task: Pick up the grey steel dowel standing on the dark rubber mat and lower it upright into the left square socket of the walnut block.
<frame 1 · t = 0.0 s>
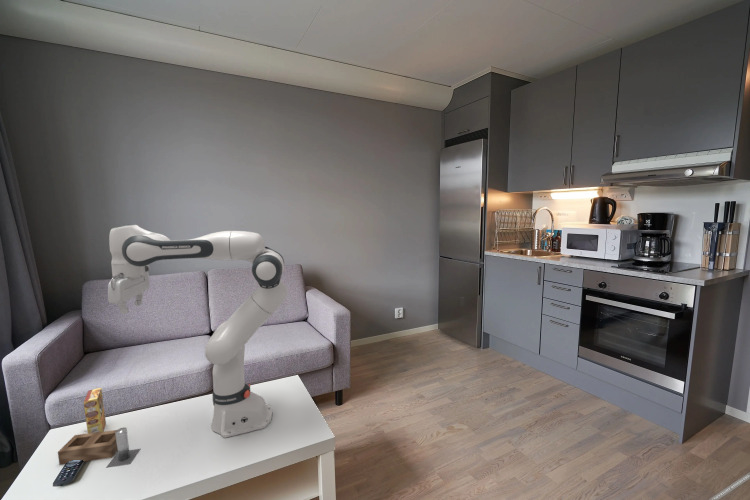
hand: (131, 308, 115), 48 cm above the table, fingers open, 8 cm apart
mat: (124, 458, 108), on the table
candy box: (97, 432, 121), on the table
peg: (124, 457, 108), resting on mat
socket block: (94, 453, 111), on the table
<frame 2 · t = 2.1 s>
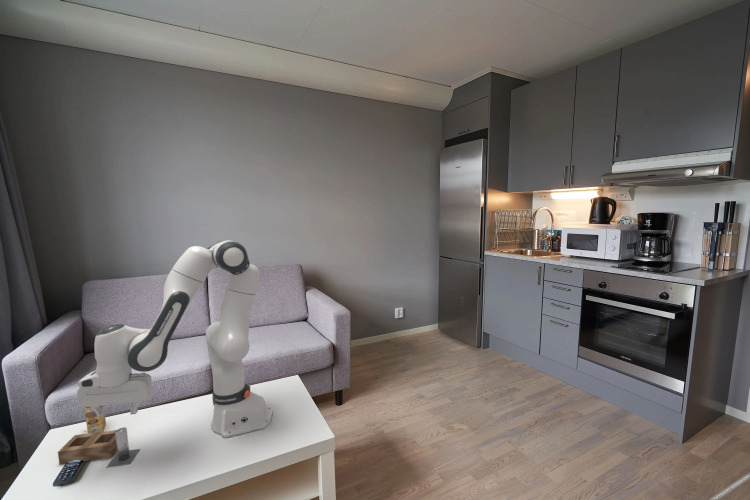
hand: (118, 415, 106), 16 cm above the table, fingers open, 8 cm apart
nothing on the table moved.
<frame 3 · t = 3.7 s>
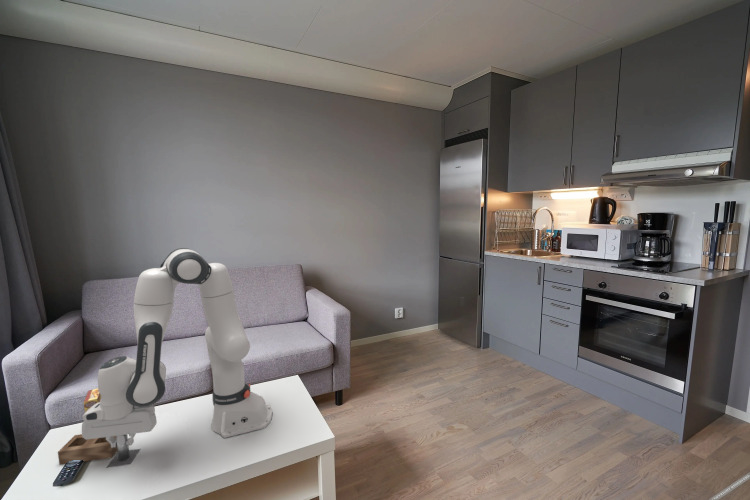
hand: (122, 445, 107), 5 cm above the table, fingers closed on peg, 3 cm apart
peg: (124, 457, 108), resting on mat, touching gripper
everything else where it was.
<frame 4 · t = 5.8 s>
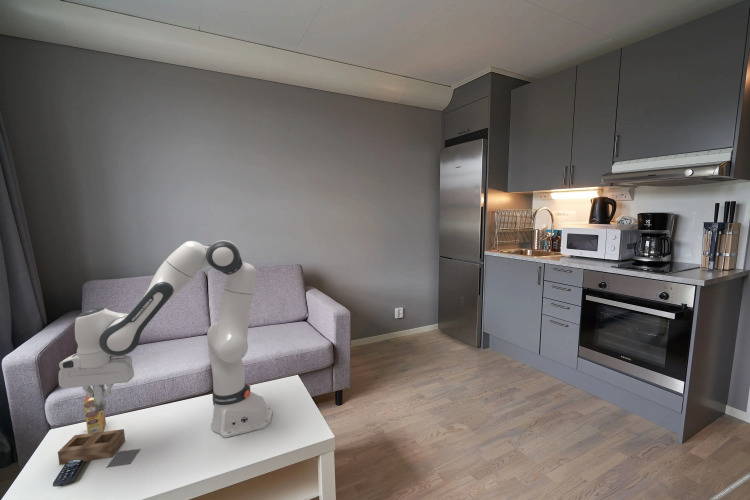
hand: (99, 396, 109), 21 cm above the table, fingers closed on peg, 3 cm apart
peg: (101, 408, 109), point 16 cm above the table, touching gripper
everything else where it was.
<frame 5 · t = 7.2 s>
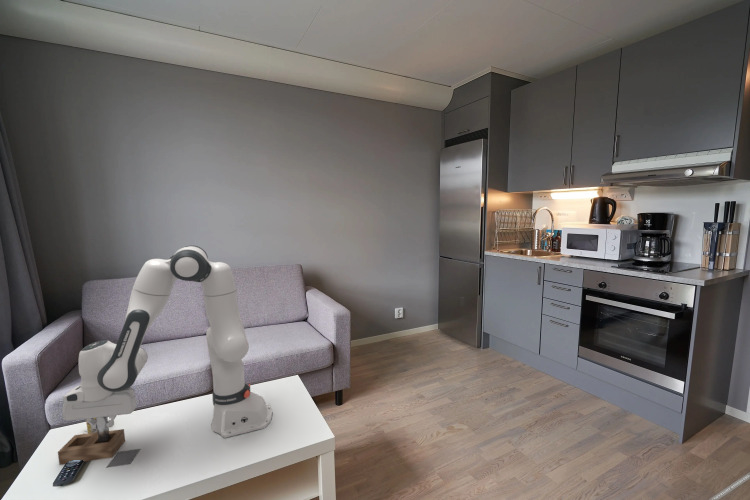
hand: (103, 427, 110), 9 cm above the table, fingers closed on peg, 3 cm apart
peg: (104, 439, 111), point 5 cm above the table, touching gripper
everything else where it was.
when the fingers open (6 cm above the table, at t = 8.0 s): peg drops 2 cm, resting in socket block.
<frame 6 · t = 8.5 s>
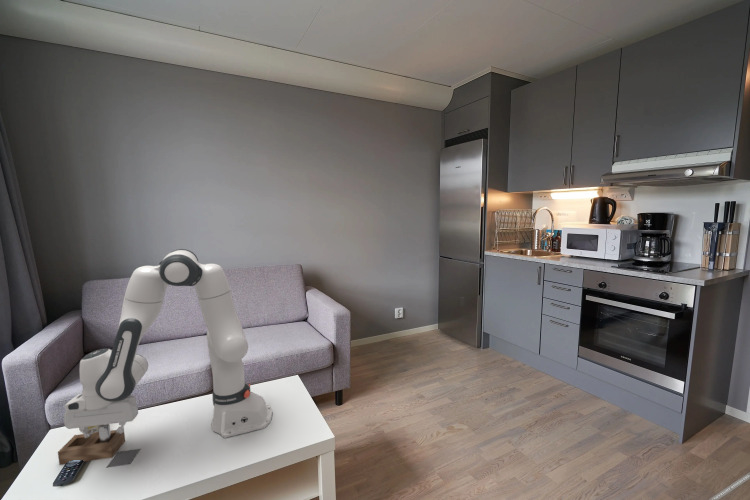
hand: (104, 434, 111), 6 cm above the table, fingers open, 8 cm apart
peg: (106, 451, 111), resting in socket block
everything else where it was.
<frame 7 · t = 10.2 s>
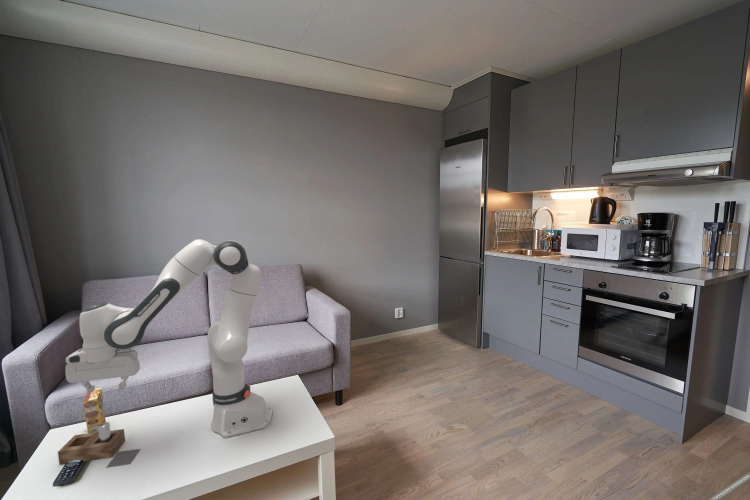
hand: (107, 389, 110), 22 cm above the table, fingers open, 8 cm apart
nothing on the table moved.
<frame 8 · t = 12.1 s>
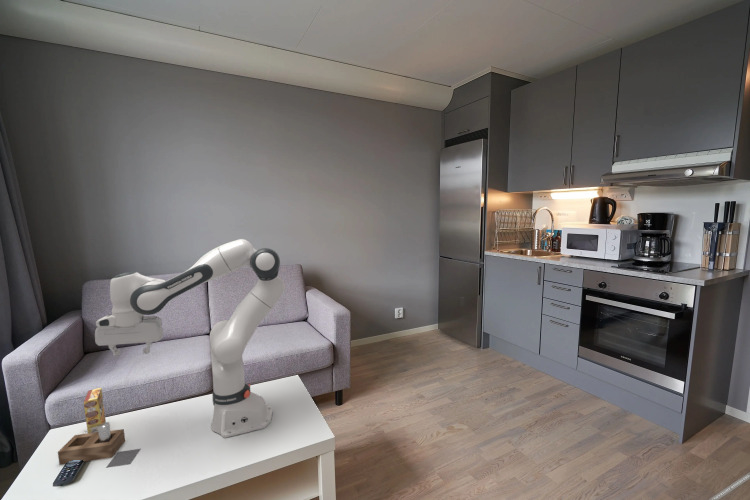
hand: (132, 354, 117), 31 cm above the table, fingers open, 8 cm apart
nothing on the table moved.
at the end: peg 0.2 cm from the target spot on the socket block, point 0.0 cm above the socket block's base; peg tilted 0°; the gripper is holding nothing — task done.
